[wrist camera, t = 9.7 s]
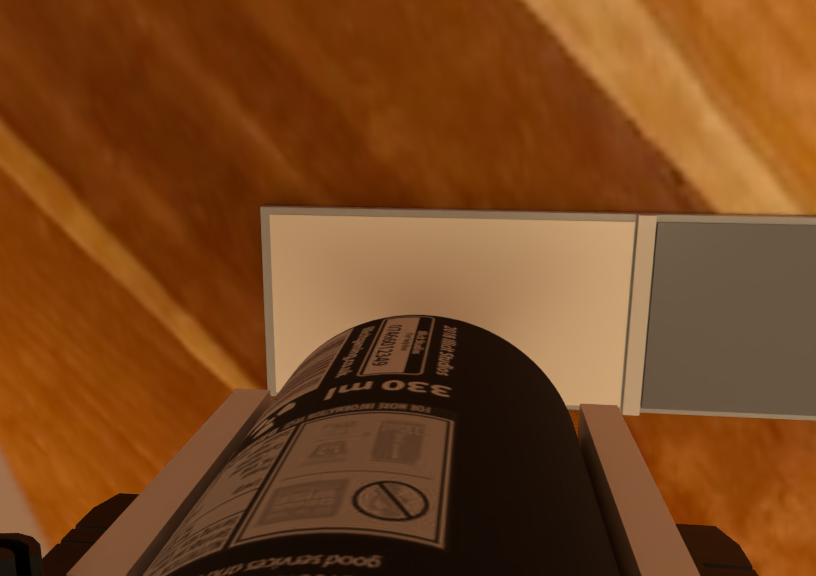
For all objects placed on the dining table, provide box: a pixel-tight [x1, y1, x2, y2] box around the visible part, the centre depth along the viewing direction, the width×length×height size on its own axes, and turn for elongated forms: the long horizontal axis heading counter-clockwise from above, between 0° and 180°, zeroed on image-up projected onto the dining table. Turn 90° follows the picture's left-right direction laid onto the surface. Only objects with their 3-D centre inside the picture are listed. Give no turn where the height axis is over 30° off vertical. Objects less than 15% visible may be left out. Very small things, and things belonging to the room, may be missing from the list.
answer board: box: [260, 205, 816, 420], centre depth 26 cm, size 8×28×1 cm, turn 90°
